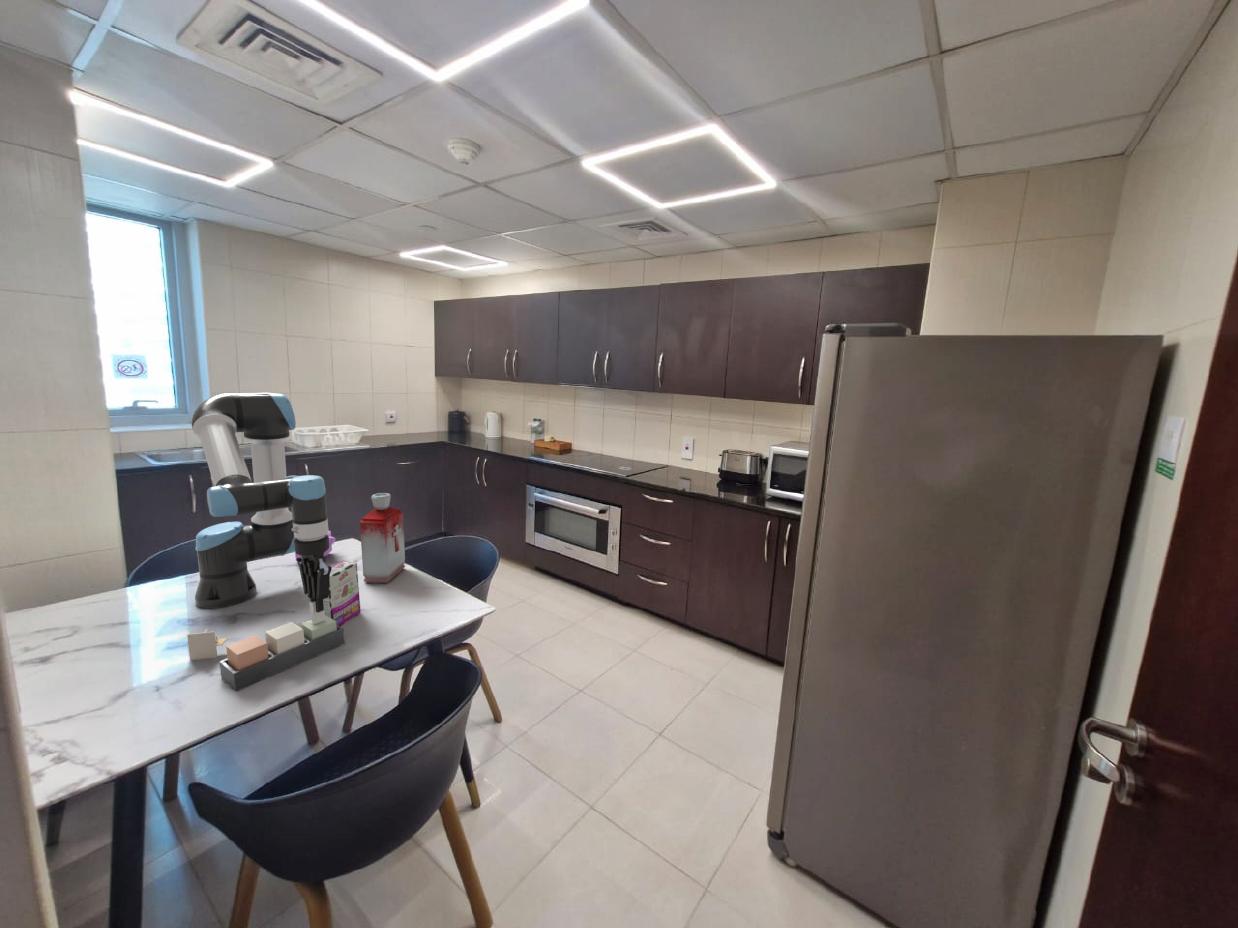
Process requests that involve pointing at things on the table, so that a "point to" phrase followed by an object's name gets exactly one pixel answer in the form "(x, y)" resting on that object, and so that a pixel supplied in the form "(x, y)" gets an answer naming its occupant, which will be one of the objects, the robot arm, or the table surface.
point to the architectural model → (204, 645)
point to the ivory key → (284, 638)
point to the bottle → (382, 541)
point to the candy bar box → (343, 593)
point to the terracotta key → (246, 652)
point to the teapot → (331, 541)
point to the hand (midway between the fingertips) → (318, 621)
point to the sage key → (318, 628)
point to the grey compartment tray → (280, 660)
